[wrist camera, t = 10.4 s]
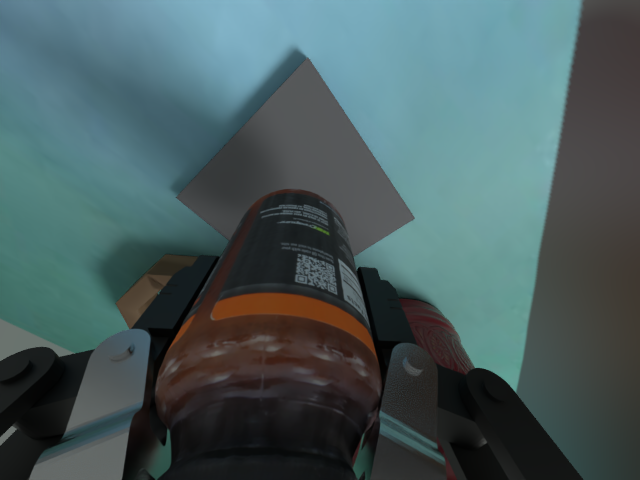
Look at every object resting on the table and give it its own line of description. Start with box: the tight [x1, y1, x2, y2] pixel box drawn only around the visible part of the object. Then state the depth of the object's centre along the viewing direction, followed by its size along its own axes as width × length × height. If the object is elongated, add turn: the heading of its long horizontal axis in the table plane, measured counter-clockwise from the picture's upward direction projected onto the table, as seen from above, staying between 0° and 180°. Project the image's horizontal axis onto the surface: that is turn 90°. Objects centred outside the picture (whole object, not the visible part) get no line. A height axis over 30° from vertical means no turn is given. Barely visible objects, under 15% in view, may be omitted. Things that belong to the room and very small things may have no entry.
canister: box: [352, 299, 475, 480], centre depth 18 cm, size 13×13×18 cm
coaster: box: [176, 58, 415, 257], centre depth 17 cm, size 12×12×1 cm
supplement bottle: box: [155, 189, 383, 480], centre depth 8 cm, size 6×6×11 cm
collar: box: [116, 254, 198, 329], centre depth 21 cm, size 12×12×2 cm
